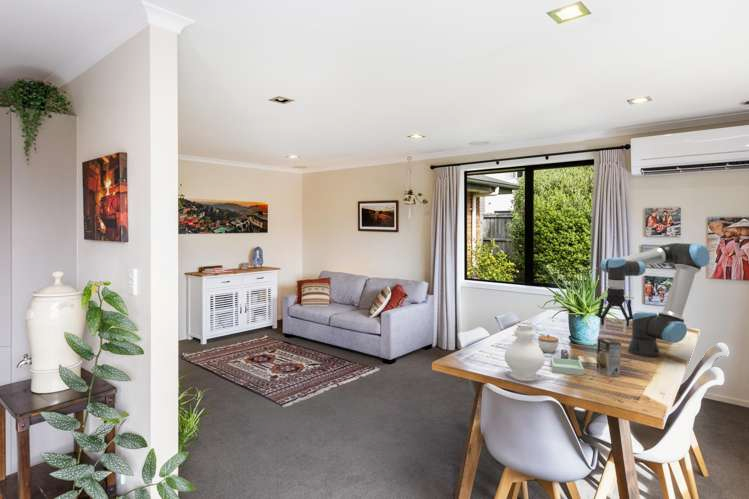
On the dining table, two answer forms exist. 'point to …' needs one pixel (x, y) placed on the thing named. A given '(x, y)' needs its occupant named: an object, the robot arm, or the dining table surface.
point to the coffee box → (608, 357)
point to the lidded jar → (548, 343)
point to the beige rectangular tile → (588, 361)
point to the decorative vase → (524, 354)
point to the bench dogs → (564, 354)
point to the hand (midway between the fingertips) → (614, 332)
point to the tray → (567, 366)
